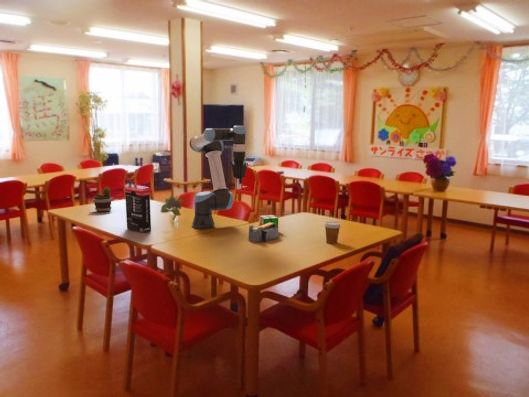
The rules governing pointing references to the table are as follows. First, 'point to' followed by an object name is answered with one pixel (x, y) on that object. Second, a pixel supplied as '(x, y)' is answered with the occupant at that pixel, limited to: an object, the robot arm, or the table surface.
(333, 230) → the disposable coffee cup
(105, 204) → the flowerpot
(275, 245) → the table surface
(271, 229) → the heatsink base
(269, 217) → the puzzle cube
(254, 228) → the strap
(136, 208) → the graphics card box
